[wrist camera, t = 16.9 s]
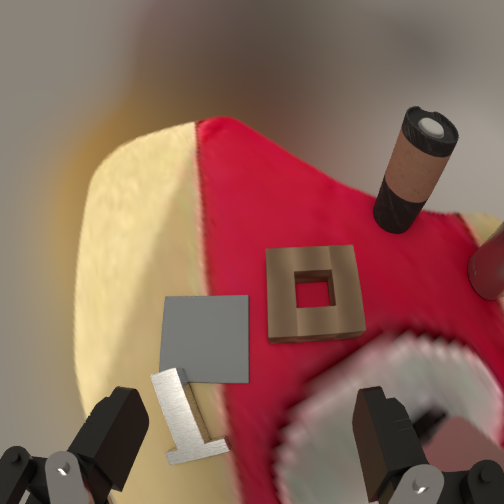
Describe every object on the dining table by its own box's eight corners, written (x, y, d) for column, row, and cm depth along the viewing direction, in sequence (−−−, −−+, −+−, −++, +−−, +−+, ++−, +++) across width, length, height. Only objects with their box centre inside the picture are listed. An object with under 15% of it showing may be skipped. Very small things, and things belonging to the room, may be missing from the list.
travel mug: (392, 243, 43) (442, 150, 25) (362, 210, 46) (393, 112, 29) (419, 222, 44) (468, 134, 27) (390, 192, 48) (424, 101, 30)
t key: (192, 362, 32) (228, 452, 28) (198, 363, 36) (231, 446, 31) (134, 379, 32) (167, 466, 27) (145, 379, 35) (175, 459, 30)
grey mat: (248, 297, 41) (248, 294, 40) (249, 383, 35) (248, 383, 34) (166, 298, 41) (165, 296, 41) (160, 379, 36) (158, 379, 35)
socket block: (347, 258, 42) (352, 244, 39) (358, 337, 36) (366, 330, 33) (266, 262, 43) (265, 248, 40) (269, 343, 37) (268, 337, 34)
